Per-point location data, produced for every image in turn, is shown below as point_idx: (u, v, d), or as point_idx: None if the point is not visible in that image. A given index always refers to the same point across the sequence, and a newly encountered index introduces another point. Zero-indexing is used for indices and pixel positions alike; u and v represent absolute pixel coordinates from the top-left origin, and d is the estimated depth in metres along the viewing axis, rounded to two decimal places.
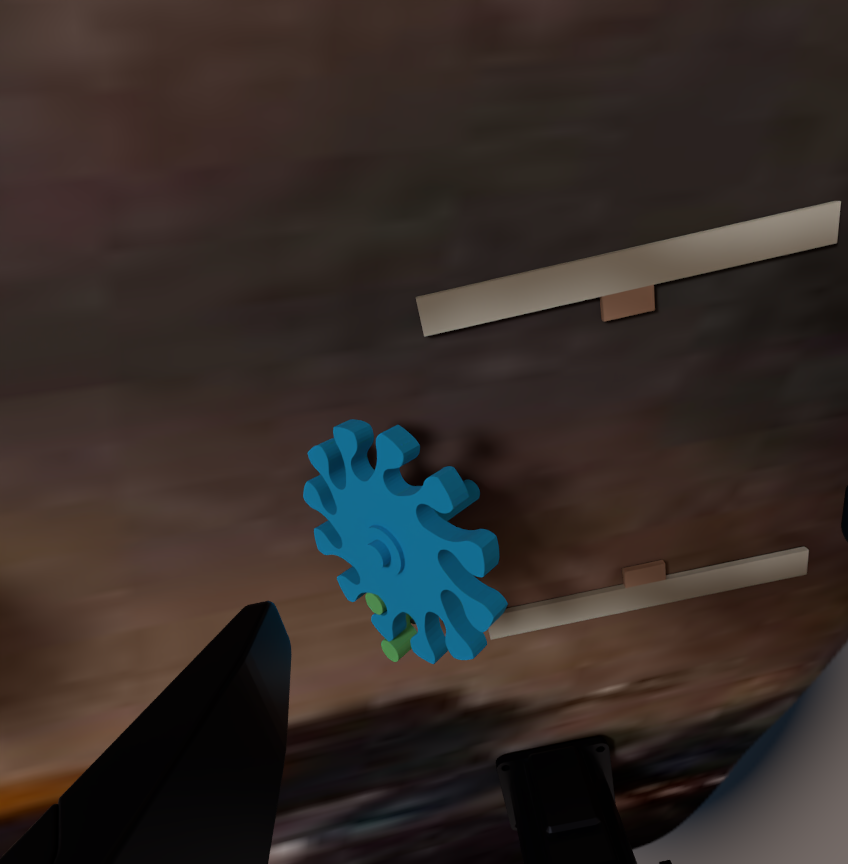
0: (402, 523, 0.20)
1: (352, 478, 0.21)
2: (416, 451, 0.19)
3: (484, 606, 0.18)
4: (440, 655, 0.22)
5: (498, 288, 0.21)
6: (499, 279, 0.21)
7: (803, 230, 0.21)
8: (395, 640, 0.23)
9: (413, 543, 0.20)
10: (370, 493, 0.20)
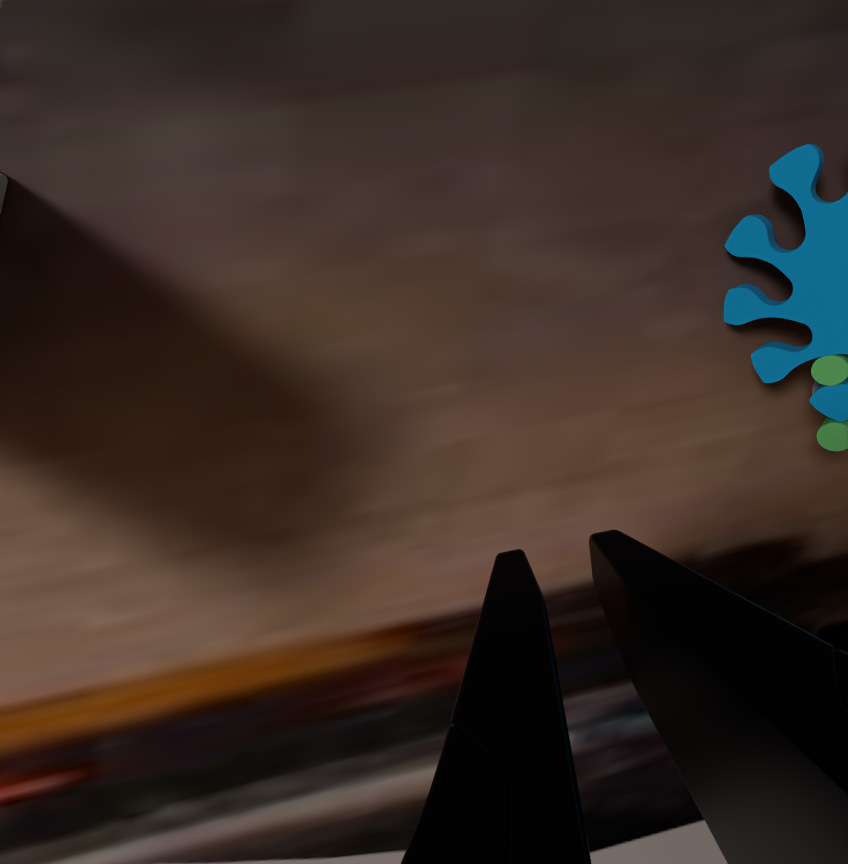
0: None
1: None
2: None
3: None
4: None
5: None
6: None
7: None
8: (845, 422, 0.19)
9: None
10: None
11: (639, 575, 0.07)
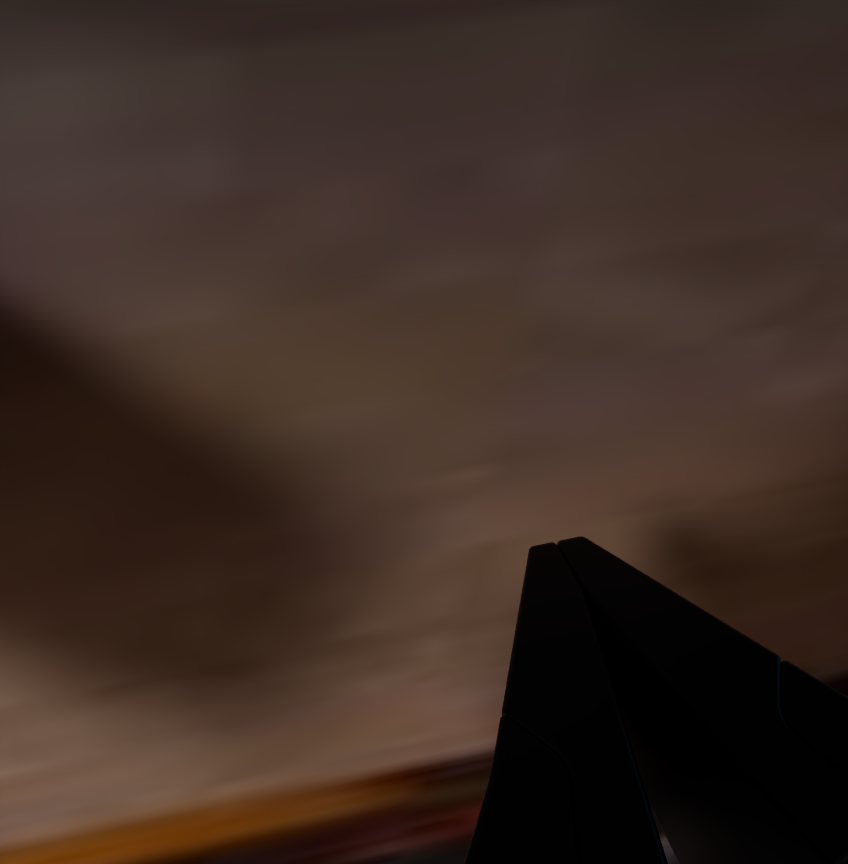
0: None
1: None
2: None
3: None
4: None
5: None
6: None
7: None
8: None
9: None
10: None
11: (599, 583, 0.07)
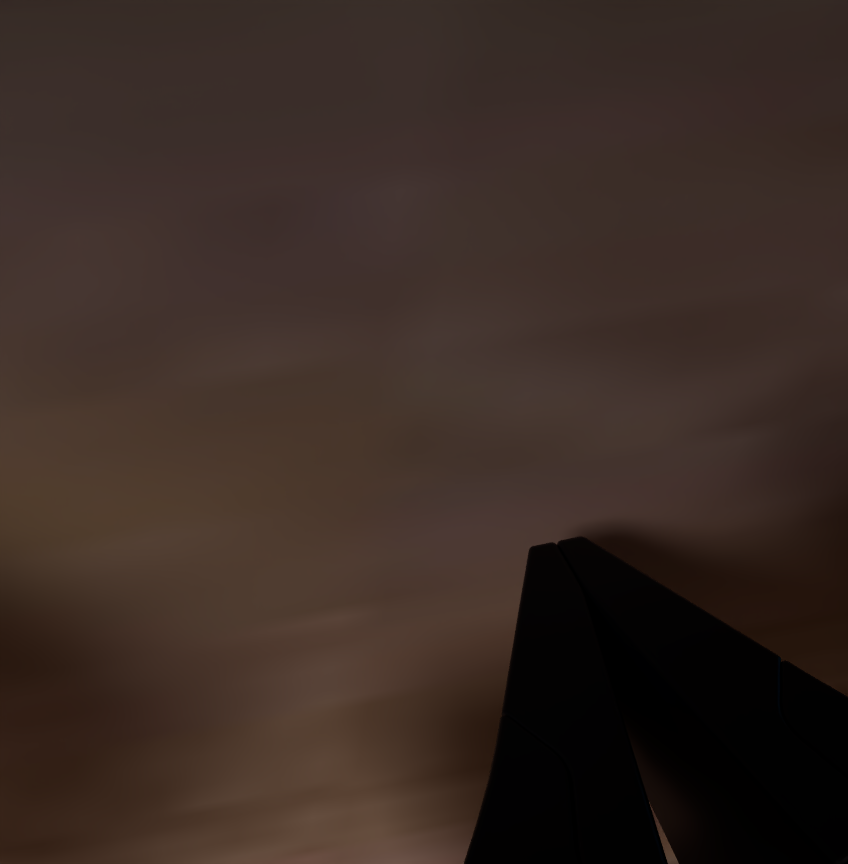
0: None
1: None
2: None
3: None
4: None
5: None
6: None
7: None
8: None
9: None
10: None
11: (599, 583, 0.07)
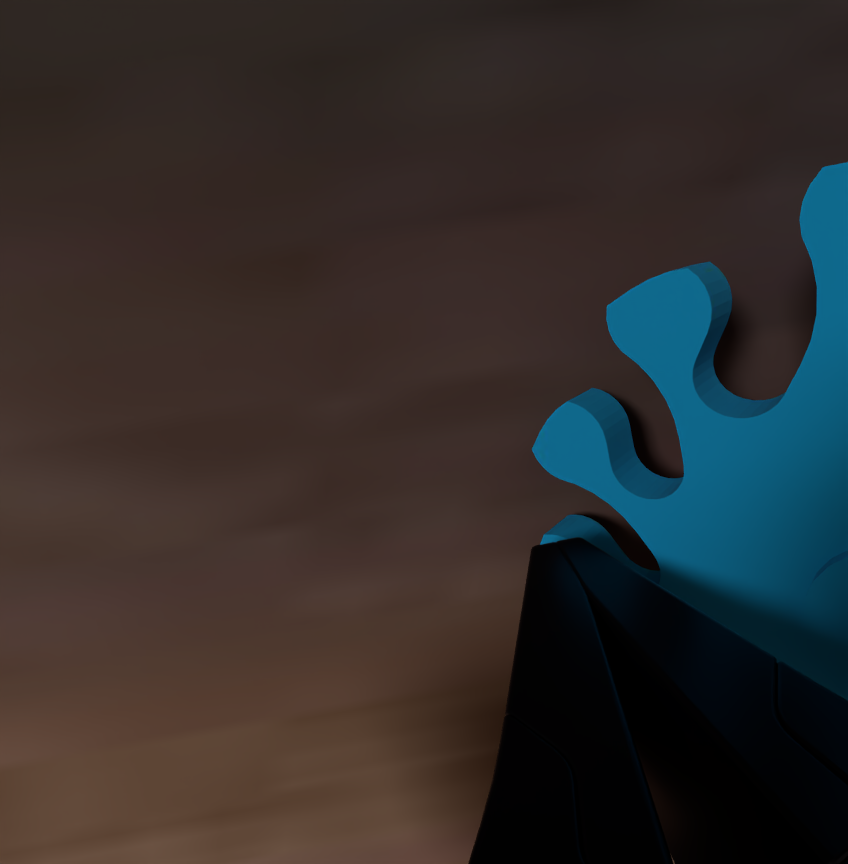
0: None
1: (840, 372, 0.06)
2: None
3: None
4: None
5: None
6: None
7: None
8: None
9: None
10: None
11: (596, 584, 0.07)
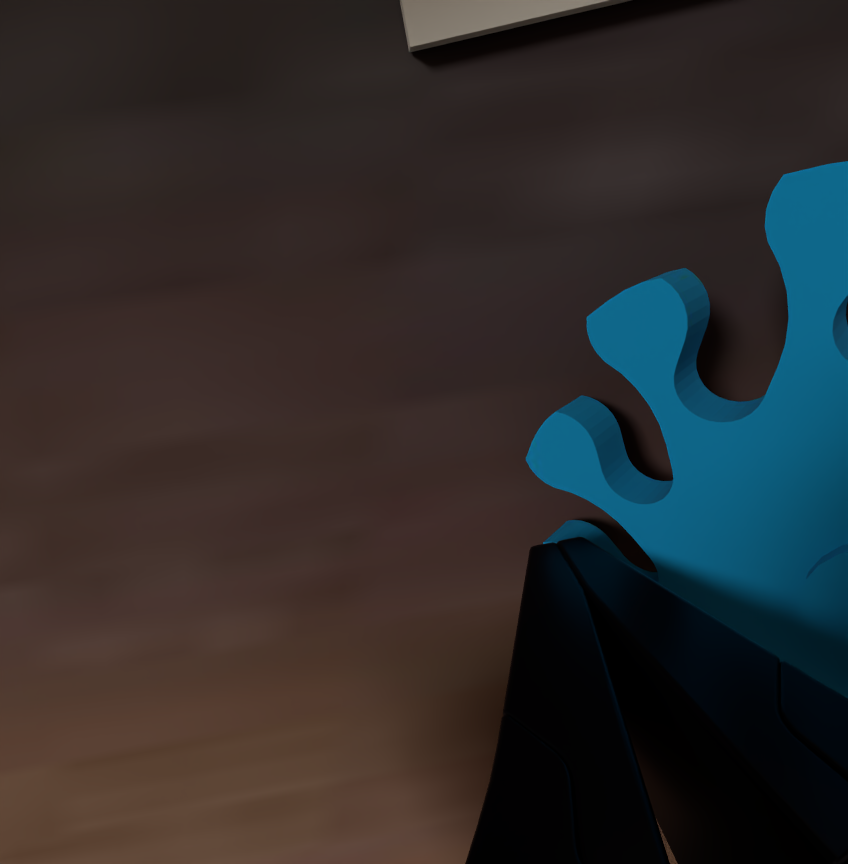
0: None
1: (816, 373, 0.06)
2: None
3: None
4: None
5: None
6: None
7: None
8: None
9: None
10: None
11: (598, 583, 0.07)
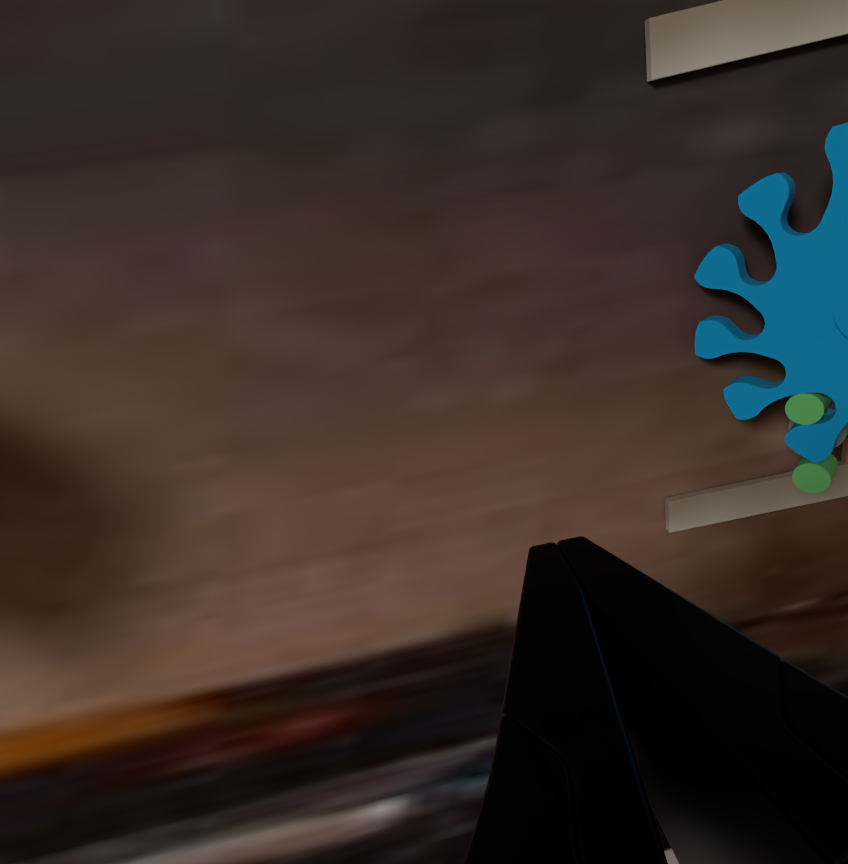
0: None
1: (843, 206, 0.15)
2: None
3: None
4: None
5: (760, 5, 0.15)
6: None
7: None
8: (822, 463, 0.18)
9: None
10: None
11: (599, 583, 0.07)
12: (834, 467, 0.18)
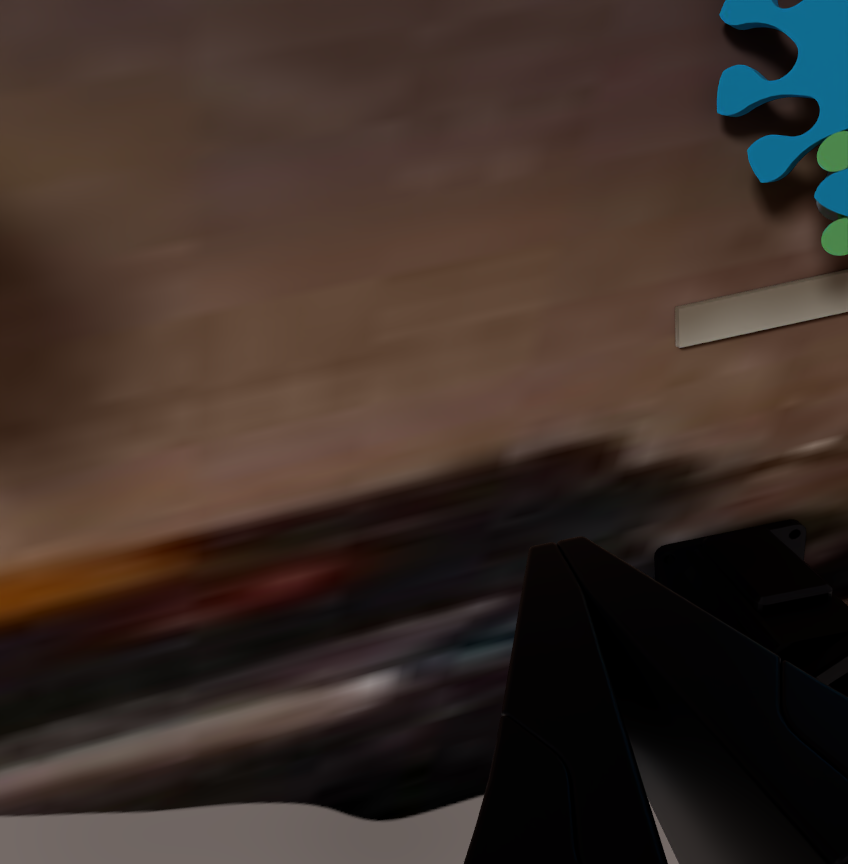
0: None
1: None
2: None
3: None
4: None
5: None
6: None
7: None
8: None
9: None
10: None
11: (600, 583, 0.07)
12: None
